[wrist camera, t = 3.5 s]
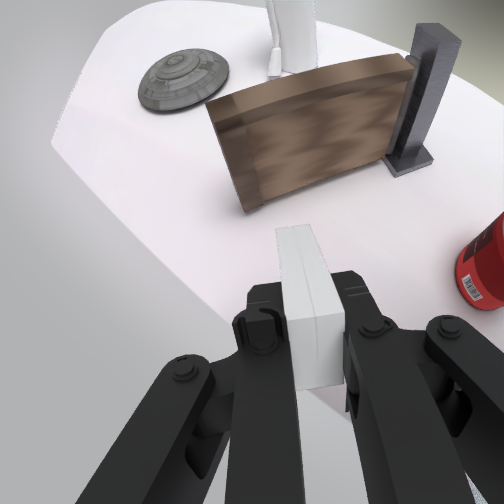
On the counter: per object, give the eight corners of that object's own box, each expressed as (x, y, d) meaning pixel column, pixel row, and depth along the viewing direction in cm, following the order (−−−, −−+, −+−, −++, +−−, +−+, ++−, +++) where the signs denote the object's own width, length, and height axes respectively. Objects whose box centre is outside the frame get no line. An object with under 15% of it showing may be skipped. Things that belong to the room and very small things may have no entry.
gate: (386, 140, 34) (410, 51, 21) (397, 155, 33) (427, 66, 20) (237, 193, 34) (204, 103, 21) (244, 211, 33) (213, 123, 20)
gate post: (405, 129, 36) (438, 15, 19) (431, 164, 34) (483, 50, 17) (369, 140, 36) (393, 16, 19) (394, 177, 34) (440, 52, 17)
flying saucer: (250, 69, 44) (244, 42, 39) (185, 128, 41) (172, 101, 36) (184, 52, 49) (176, 29, 43) (124, 103, 46) (111, 80, 40)
